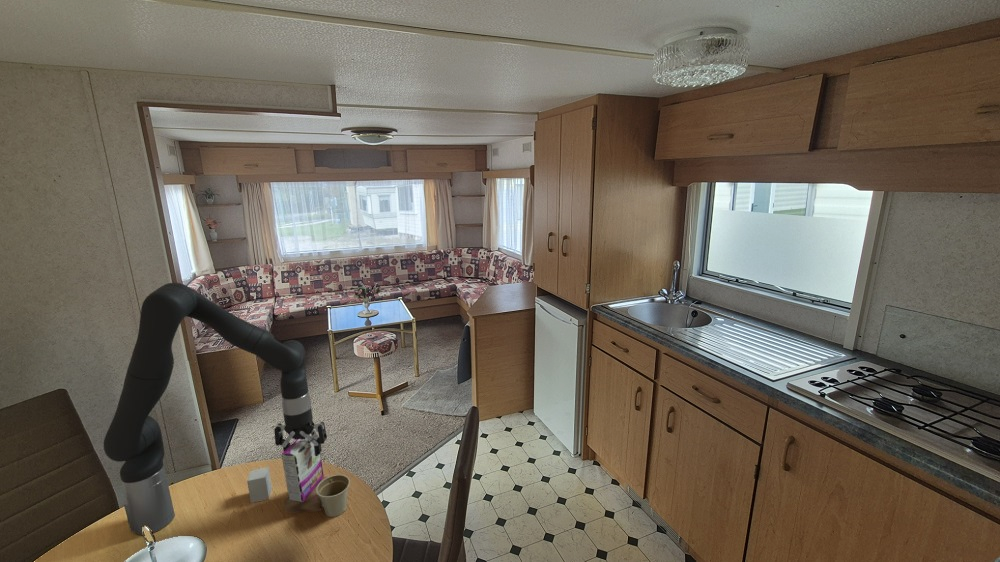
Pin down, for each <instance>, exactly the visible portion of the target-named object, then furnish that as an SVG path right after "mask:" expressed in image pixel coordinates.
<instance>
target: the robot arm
mask: <svg viewBox="0 0 1000 562" xmlns="http://www.w3.org/2000/svg"><path fill="white" fill-rule="evenodd" d="M141 304H142V305H141V308H140V316H139V326H138V333H137V338H136V342H135V345H134V348H133V351H132V354H131V357H130V361H129V364H128V366H127V369H126V373H125V377H124V382H123V385H122V390H121V393H120V395H119V400H118V402H117V403H118V404H117V407H116V409H115V410H116V411H115V413H114V415H113V417H112V420H111V423H110V425H109V427H108V430H107V432H106V434H105V437H104V439H103V451H104V453H105V455H106V457H108V459H110V460H111V461H114V462H116V463H117V462H121V463H122V462H124V463H123V464H122V466H121V468H120V470H119V476H120V481H121V483H122V489H123V492H124V495H125V498H126V499H125V502H123V508H124V511H125V514H126V517H127V521H128V525H129V529H130V532H134V533H135V534H136V535H141V536H143V535H142V527H143V526H144V525H146V526H148V527H149V528H150V529H151V530H152V532H153V533H156V532H158V531H160V530H162V529H164V528H165V527H166V526H168V525H169V524H170V523H171V522H172V521H173V520H174V519H175V515H176V514H175V513H176V512H175V508H174V505H173V500H172V496H171V492H170V486H169V483H168V479H167V478H168V477H167V474H166V470H165V466H164V458H165V447H164V440H163V435H162V430H161V427H160V424H159V423H158V422H157V420H156V419H155V418H154V417H152V416H151V415H150V414H151V413H152V410H154V408H155V406H156V405H157V404H158V402H159V400H160V399H161V398H162V396H163V395H164V393H165V392H166V390H167V388H168V385H169V383H170V380H171V377H172V374H173V369H174V365H175V359H174V353H173V349H172V348H173V342H174V339H175V336H176V333H177V330H178V329H179V326H180V324H181V322H182V321H184V319H185V318H186V317H188V318H191V319H194V320H196V321H199V322H201V323H203V324H205V325H207V326H208V327H209V328H211V329H212V330H213V331H214V332H215V333H217V334H218V335H219V336H221V338H222V339H223V340H225V341H226V342H228V343H229V344H230V345H232V346H234V347H236V348H239V349H240V350H242V351H245V352H248V353H249V354H253V356H254V355H255V356H257V357H258V358H259V359H261V360H262V361H263V362H265V363H266V364H268V365H269V366H271V367H272V368H274V369H276V370H278V371H280V373H281V377H280V382H279V384H280V385H279V386H280V393H281V407H282V413H283V421H284V424H282V423H281V422H280V423H277V425H276V426H275V428H274V429H273V432H274V445H276V446H277V447H278V446H281V447H282V448H283V450H282V451H283V452H284V451H285V450H286V449H287V448H288V447H289V446H290V445H291V442H290V441H291V440H292V439H294V441H296V440H297V439H307V440H308V441H309V442H312V443H313V444H314V451H315V456H318V455H319V454H320V455H321V452H322V450H323V449H322V445H323V444H325V442H326V440H327V438H328V436H327V430H326V426H325V425H326V423H325V422H324V421H320V423H314V421H313V418H314V416H313V409H312V401H311V396H310V393H309V387H308V378H307V375H306V374H307V373H306V371H307V367H306V365H307V364H306V360H307V359H306V350H305V347H304V345H303V344H302V343H301V342H300V341H298V340H293V339H291V340H286V341H285V342H283V343H281V342H280V341H278V340H276V339H275V336H274V335H273V333H272V332H270V331H268V330H265V329H263V328H262V327H260V326H257V325H255V324H253V323H250V322H248V321H246V320H244V319H242V318H240V317H238V315H237V316H236V315H235V314H233V313H231V312H229V311H228V310H226V309H224V308H222V306H220V305H218V304H216V303H215V302H213V301H211V300H210V299H209V298H207V297H205V296H204V295H203V294H201V293H199V292H198V291H196V290H195V289H193V288H192V287H190V286H188V285H186V284H183V283H180V282H169V283H165V284H163V285H162V286H159V287H158V288H157V289H155V290H153V291H152V292H151V293H149V294H148V295H147V296H146V297H145V299H144V300H143V302H142V303H141ZM284 432H286V434H287V438H285V439H284ZM317 433H318V435H317ZM310 434H311V436H310Z"/></svg>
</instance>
